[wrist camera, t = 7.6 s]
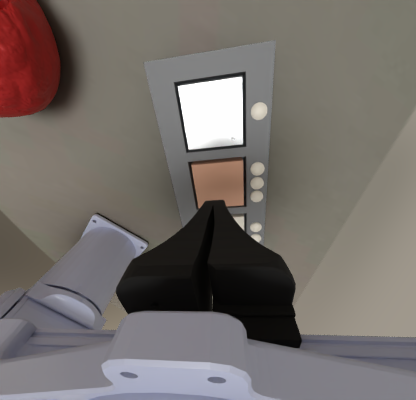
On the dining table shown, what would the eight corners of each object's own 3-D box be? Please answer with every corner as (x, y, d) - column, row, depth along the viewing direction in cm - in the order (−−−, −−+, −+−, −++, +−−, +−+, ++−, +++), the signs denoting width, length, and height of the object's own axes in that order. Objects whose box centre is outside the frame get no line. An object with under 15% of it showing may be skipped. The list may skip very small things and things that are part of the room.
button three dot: (241, 196, 19) (243, 205, 17) (200, 199, 19) (198, 208, 18) (241, 154, 17) (243, 160, 15) (194, 159, 17) (191, 165, 16)
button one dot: (240, 139, 16) (242, 144, 14) (191, 145, 16) (188, 149, 15) (239, 79, 14) (241, 76, 12) (182, 87, 14) (177, 86, 13)
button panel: (258, 242, 23) (263, 258, 21) (193, 245, 24) (190, 260, 22) (266, 49, 13) (276, 39, 11) (155, 68, 14) (142, 61, 12)
